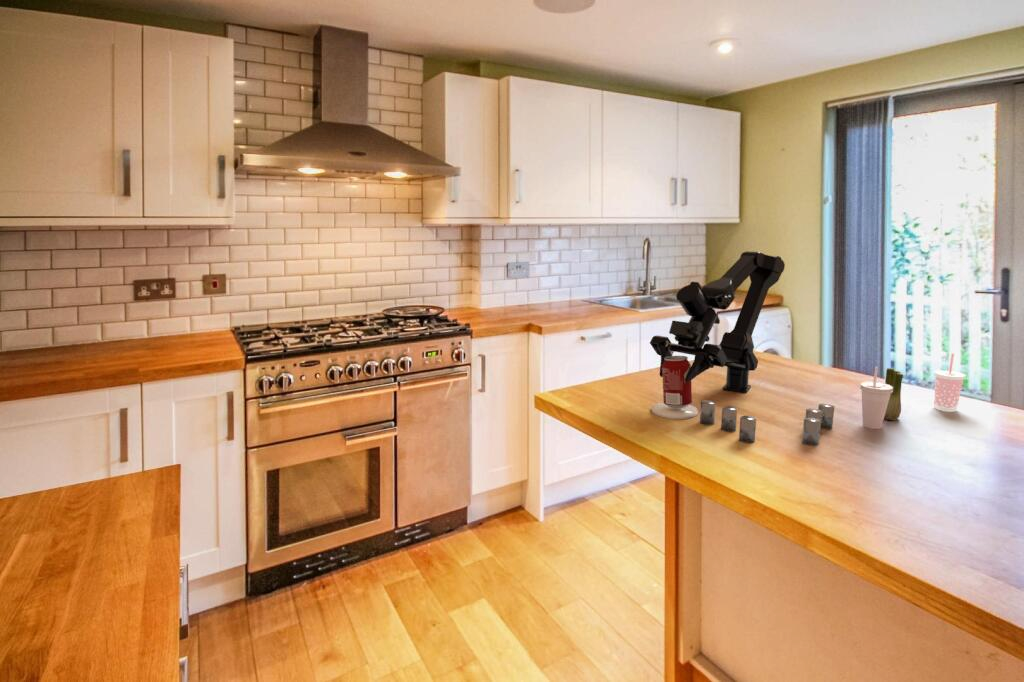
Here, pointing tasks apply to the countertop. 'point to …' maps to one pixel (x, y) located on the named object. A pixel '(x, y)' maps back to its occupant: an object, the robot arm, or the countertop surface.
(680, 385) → the soda can
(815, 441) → the spacer field
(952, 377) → the beverage cup
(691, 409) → the coaster
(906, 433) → the countertop surface
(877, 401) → the smoothie
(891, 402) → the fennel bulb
